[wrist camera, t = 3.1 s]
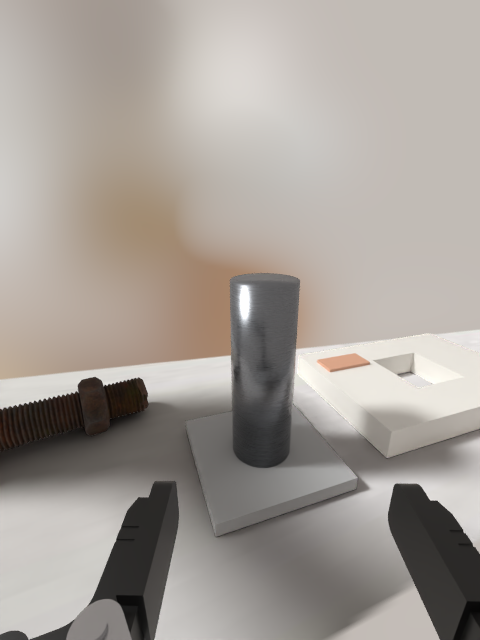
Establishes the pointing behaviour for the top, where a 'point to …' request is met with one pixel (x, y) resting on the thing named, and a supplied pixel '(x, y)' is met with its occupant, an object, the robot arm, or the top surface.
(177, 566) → the top surface
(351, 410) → the plate
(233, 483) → the mat
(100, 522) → the top surface
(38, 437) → the bolt
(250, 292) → the cylinder
